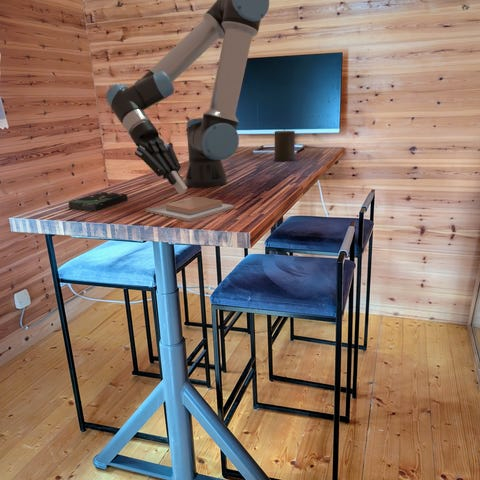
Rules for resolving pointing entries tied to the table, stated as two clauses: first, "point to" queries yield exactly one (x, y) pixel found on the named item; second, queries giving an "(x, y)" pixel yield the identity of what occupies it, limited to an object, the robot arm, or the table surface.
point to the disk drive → (97, 201)
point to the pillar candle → (284, 145)
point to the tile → (193, 205)
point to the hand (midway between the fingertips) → (183, 191)
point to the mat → (162, 211)
